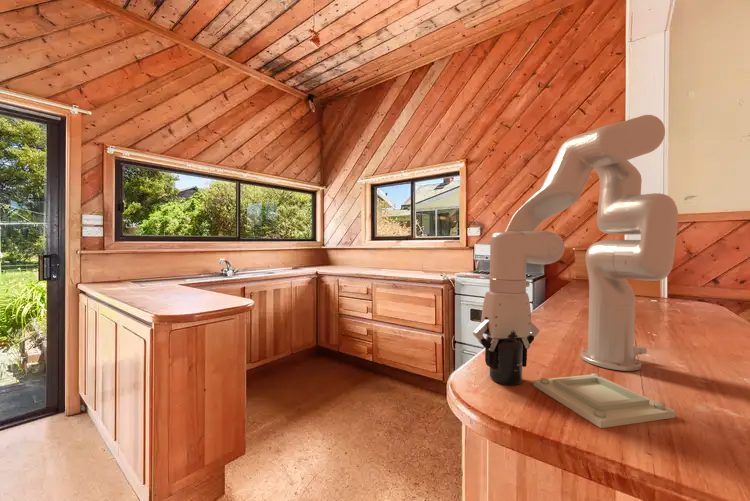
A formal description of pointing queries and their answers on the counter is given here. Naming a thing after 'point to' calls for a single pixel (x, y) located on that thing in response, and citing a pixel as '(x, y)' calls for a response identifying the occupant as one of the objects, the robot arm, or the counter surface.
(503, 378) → the supplement bottle
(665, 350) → the counter surface
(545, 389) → the seating plate
